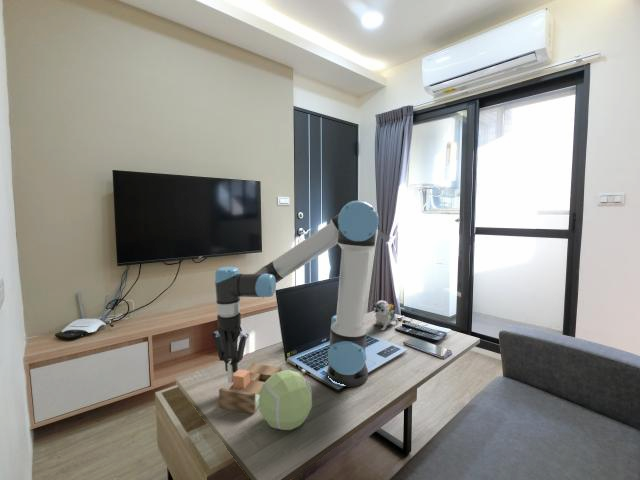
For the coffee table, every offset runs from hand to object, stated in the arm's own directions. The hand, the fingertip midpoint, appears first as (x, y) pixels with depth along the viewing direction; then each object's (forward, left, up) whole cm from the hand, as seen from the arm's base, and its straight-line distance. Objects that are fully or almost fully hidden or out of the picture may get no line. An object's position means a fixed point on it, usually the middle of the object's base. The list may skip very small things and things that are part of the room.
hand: (232, 380), depth 105 cm
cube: (-3, 0, -1) cm, 4 cm away
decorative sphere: (-24, +10, -4) cm, 26 cm away
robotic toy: (-48, -70, -5) cm, 85 cm away
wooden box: (-7, -3, -4) cm, 8 cm away
